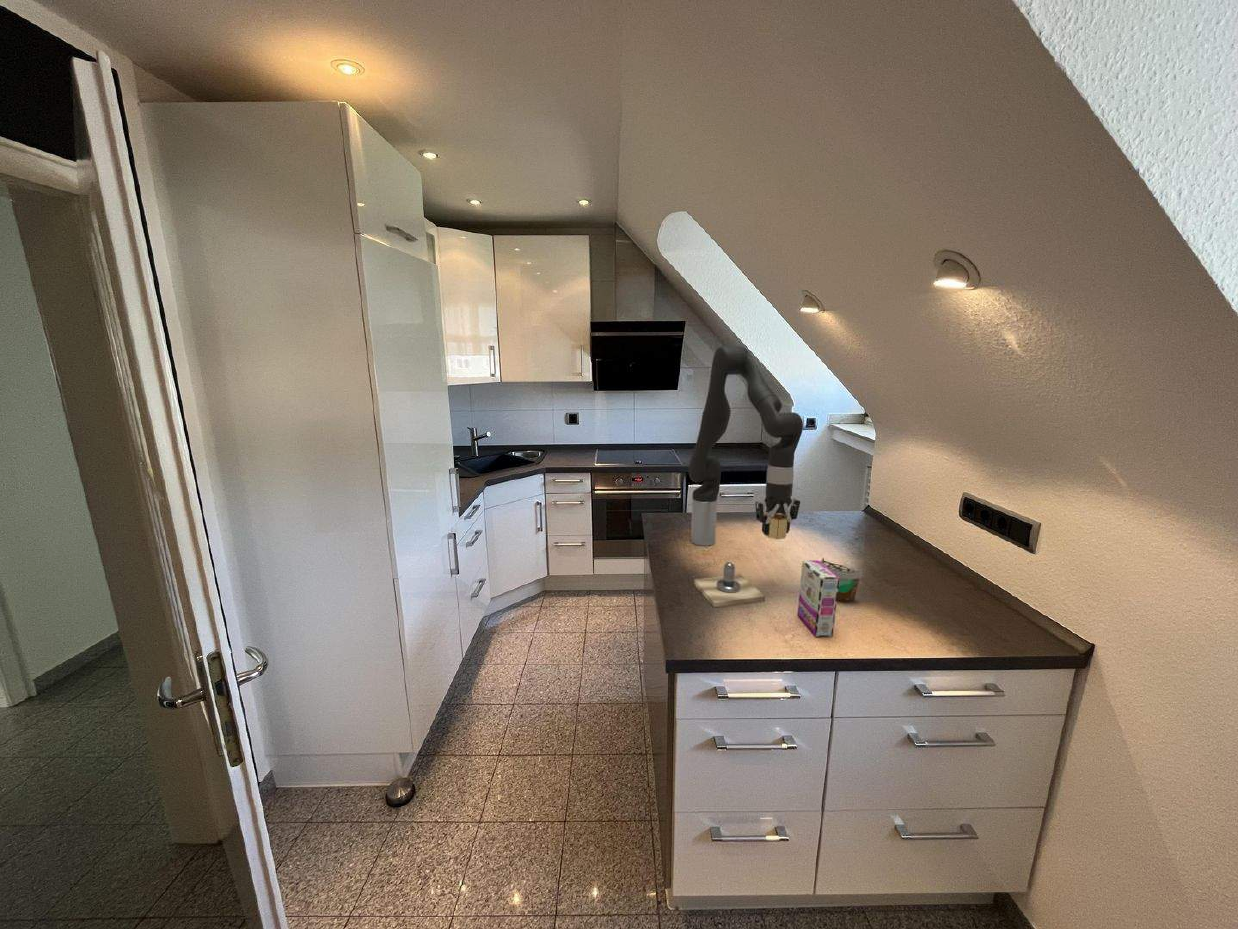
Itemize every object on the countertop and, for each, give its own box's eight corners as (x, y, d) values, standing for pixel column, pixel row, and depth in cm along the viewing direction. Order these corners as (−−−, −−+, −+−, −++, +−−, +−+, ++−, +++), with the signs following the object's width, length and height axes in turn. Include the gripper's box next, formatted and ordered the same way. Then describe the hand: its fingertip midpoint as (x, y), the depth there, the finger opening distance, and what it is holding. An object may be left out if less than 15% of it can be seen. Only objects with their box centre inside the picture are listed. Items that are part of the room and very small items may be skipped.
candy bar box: (834, 637, 123) (840, 578, 120) (815, 638, 123) (821, 578, 119) (814, 614, 134) (819, 559, 131) (796, 615, 134) (801, 559, 130)
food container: (808, 593, 146) (811, 562, 144) (819, 587, 150) (822, 556, 148) (849, 609, 137) (853, 576, 135) (859, 602, 141) (863, 570, 139)
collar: (761, 532, 149) (762, 514, 148) (778, 531, 150) (780, 512, 149) (771, 539, 143) (773, 520, 142) (789, 538, 145) (791, 519, 143)
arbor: (712, 583, 149) (713, 559, 147) (733, 581, 150) (734, 556, 149) (722, 594, 142) (724, 568, 140) (744, 591, 144) (746, 566, 142)
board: (693, 583, 152) (694, 579, 151) (740, 578, 156) (740, 574, 155) (714, 607, 138) (714, 602, 137) (764, 601, 141) (765, 596, 141)
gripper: (793, 475, 148) (789, 527, 152) (751, 478, 145) (747, 531, 149) (808, 481, 141) (803, 536, 145) (764, 484, 138) (760, 540, 142)
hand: (775, 533), depth 147 cm, fingers closed on collar, 6 cm apart
